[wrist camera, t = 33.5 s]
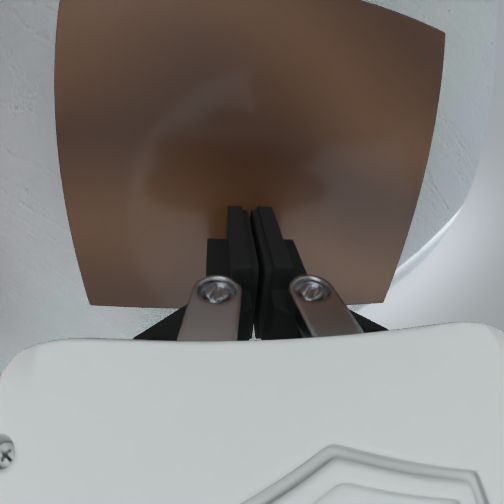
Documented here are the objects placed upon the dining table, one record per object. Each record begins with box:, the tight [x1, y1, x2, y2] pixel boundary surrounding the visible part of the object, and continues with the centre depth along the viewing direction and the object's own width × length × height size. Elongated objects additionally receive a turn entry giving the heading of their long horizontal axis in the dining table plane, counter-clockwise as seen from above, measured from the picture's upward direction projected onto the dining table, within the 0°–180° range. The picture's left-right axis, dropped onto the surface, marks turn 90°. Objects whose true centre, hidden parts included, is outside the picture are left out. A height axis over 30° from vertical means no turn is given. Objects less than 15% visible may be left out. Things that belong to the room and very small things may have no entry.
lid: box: [54, 0, 445, 308], centre depth 11 cm, size 13×15×1 cm
